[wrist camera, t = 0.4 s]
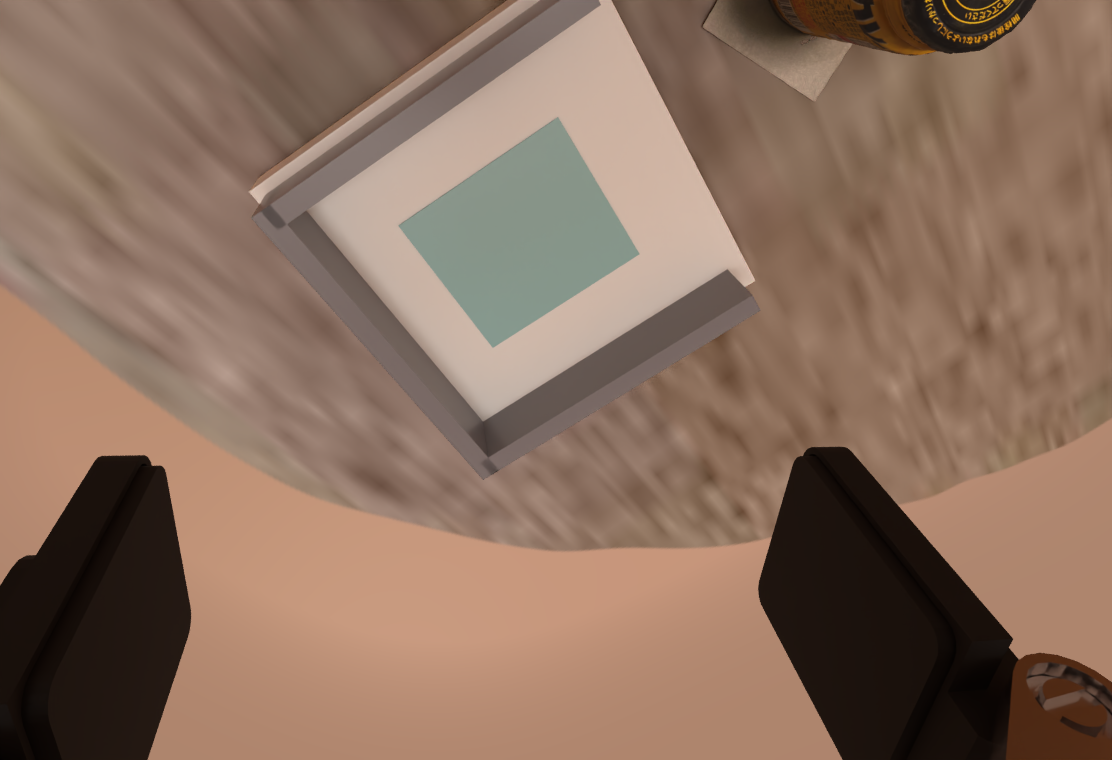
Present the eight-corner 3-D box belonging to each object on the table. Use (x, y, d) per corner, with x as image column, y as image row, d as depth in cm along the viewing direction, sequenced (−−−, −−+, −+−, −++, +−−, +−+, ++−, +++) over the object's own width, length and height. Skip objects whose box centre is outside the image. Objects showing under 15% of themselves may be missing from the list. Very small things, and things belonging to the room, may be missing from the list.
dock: (575, -49, 34) (604, -49, 29) (738, 264, 43) (782, 307, 38) (258, 177, 37) (232, 214, 32) (473, 429, 46) (480, 490, 40)
